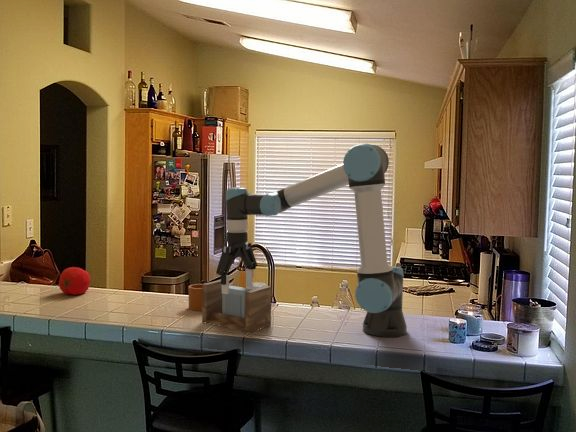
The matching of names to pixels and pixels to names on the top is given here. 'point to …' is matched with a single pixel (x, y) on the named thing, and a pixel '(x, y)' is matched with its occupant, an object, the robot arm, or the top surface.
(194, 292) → the mug
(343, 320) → the top surface
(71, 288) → the tomato
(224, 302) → the gray rectangular block
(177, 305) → the top surface
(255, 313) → the wooden frame
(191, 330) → the top surface
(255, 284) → the white cup
